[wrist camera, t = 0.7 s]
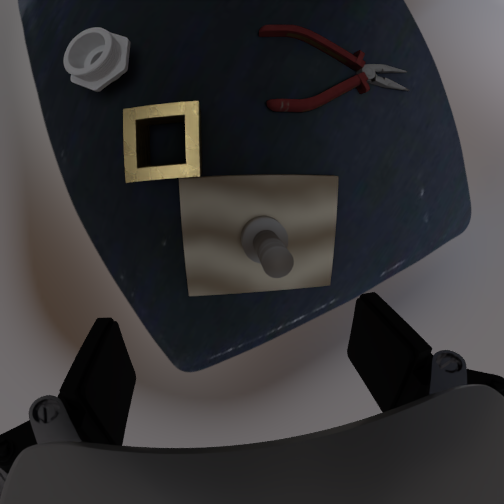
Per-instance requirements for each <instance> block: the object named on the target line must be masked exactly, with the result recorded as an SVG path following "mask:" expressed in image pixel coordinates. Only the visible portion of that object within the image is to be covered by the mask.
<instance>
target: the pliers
mask: <svg viewBox="0 0 504 504" xmlns="http://www.w3.org/2000/svg"><path fill="white" fill-rule="evenodd" d="M259 37H291V38H296V39H299V40H302V41H304V42H306V43H308V44H310V45H312V46H314V47H316V48H317V49H319V50H321V51H323V52H325V53H326V54H328V55H330V56H332V57H333V58H335V59H337V60H338V61H340V62H342V63H343V64H345V65H346V66H348V67H349V68H351V69H353V70H354V71H356V74H357V75H355V76H353V77H351V78H349V79H347V80H345V81H343V82H341V83H339V84H337V85H335V86H333V87H331V88H329V89H328V90H326V91H324V92H322V93H320V94H318V95H317V96H314V97H311V98H307V99H271V100H268V101H267V106H268V108H269V109H271V110H272V111H277V112H306V111H310V110H313V109H315V108H318V107H320V106H322V105H324V104H326V103H328V102H330V101H331V100H333V99H335V98H337V97H339V96H340V95H342V94H344V93H346V92H348V91H350V90H352V89H354V88H355V87H356V89H357V90H358V92H359V93H360V94H362V93H365V92H367V91H369V90H370V87H369V85H368V83H371V84H374V85H377V86H380V87H385V88H392V89H399V90H405V91H409V90H408V89H407V88H405V87H403V86H401V85H399V84H397V83H395V82H394V81H392V80H389V79H387V78H382V77H380V76H377V74H376V72H377V73H406V72H407V71H404V70H401V69H397V68H394V67H391V66H387V65H383V64H366V65H365V61H364V60H363V57H364V55H365V53H364V52H362V51H361V50H359V51H357V52H356V53H354V54H353V55H352V54H351V53H349V52H348V51H346V50H344V49H343V48H341V47H340V46H338V45H336V44H335V43H333V42H331V41H329V40H328V39H326V38H324V37H322V36H320V35H319V34H317V33H315V32H313V31H311V30H308V29H306V28H303V27H300V26H296V25H265V26H263V27H261V28H260V30H259ZM367 82H368V83H367Z"/></svg>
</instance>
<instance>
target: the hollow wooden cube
mask: <svg viewBox="0 0 504 504" xmlns="http://www.w3.org/2000/svg"><path fill="white" fill-rule="evenodd" d="M179 122H185V141H186V162H185V163H172V164H161V165H151V162H150V130H149V126H150V125H158V124H168V123H179ZM123 138H124V163H125V179H126V183H129V182H138V181H148V180H158V179H170V178H183V177H199V176H200V175H201V174H202V144H201V109H200V105H199V101H189V102H176V103H166V104H157V105H149V106H141V107H134V108H128V109H123Z"/></svg>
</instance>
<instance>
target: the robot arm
mask: <svg viewBox="0 0 504 504" xmlns="http://www.w3.org/2000/svg"><path fill="white" fill-rule="evenodd" d="M431 350H432V348H431V346H430V345H428V343H427V342H425V340H424V339H423V338H422V337H421V336H420V335H419V334H418V333H417V332H416V331H415V330H414V329H413V328H412V327H411V326H410V325H409V324H408V323H407V322H406V321H404V320H403V318H401V317H400V316H399V315H398V314H397V313H396V312H395V311H394V310H393V309H392V308H391V307H390V306H389V305H388V304H387V303H386V302H385V301H384V300H383V299H382V298H381V297H380V296H379V295H377V294H376V293H375V292H372V293H366V294H362V295H361V296H360V298H358V299H357V300H356V305H355V312H354V318H353V323H352V329H351V334H350V340H349V344H348V349H347V354H348V357H349V359H350V361H351V362H352V364H353V365H354V367H355V369H356V370H357V372H358V373H359V375H360V377H361V378H362V380H363V381H364V383H365V385H366V386H367V388H368V389H369V391H370V392H371V394H372V396H373V398H374V399H375V401H376V402H377V404H378V405H379V407H380V409H381V411H382V412H383V413H380V414H377V415H375V416H372V417H369V418H366V419H362V420H359V421H356V422H353V423H349V424H346V425H342V426H339V427H335V428H331V429H327V430H323V431H319V432H314V433H310V434H306V435H301V436H296V437H291V438H285V439H279V440H274V441H267V442H260V443H253V444H244V445H234V446H223V447H207V448H149V447H148V448H147V447H131V446H122V443H123V438H124V433H125V427H126V422H127V417H128V413H129V408H130V404H131V399H132V395H133V390H134V386H135V382H136V374H135V371H134V368H133V366H132V363H131V360H130V357H129V355H128V352H127V349H126V346H125V343H124V340H123V338H122V334H121V331H120V328H119V325H118V323H117V322H116V321H114V320H113V319H112V318H97V319H96V321H95V323H94V325H93V326H92V328H91V330H90V332H89V334H88V336H87V337H86V339H85V341H84V343H83V345H82V347H81V348H80V350H79V352H78V354H77V356H76V358H75V360H74V362H73V364H72V366H71V368H70V370H69V372H68V374H67V376H66V378H65V380H64V382H63V384H62V386H61V389H60V393H59V395H58V397H55V396H51V395H46V396H43V397H40V398H38V399H37V400H36V401H35V402H34V403H33V404H32V405H31V407H30V410H29V419H30V420H29V421H27V422H25V423H23V424H21V425H19V426H17V427H16V428H13V429H11V430H9V431H7V432H5V433H3V434H1V435H0V504H504V378H503V377H500V376H498V375H493V374H488V373H483V372H478V371H474V370H469V369H466V363H465V360H464V359H463V357H461V356H460V355H459V354H457V353H455V352H453V351H449V350H442V351H439V352H437V353H435V354H434V356H433V355H432V354H431Z"/></svg>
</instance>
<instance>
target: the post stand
mask: <svg viewBox="0 0 504 504" xmlns="http://www.w3.org/2000/svg"><path fill="white" fill-rule="evenodd" d="M179 191H180V207H181V221H182V233H183V244H184V255H185V265H186V274H187V283H188V291H189V296H202V295H219V294H234V293H248V292H262V291H274V290H286V289H297V288H307V287H318V286H327V285H330V281H331V272H332V262H333V252H334V241H335V228H336V214H337V197H338V176H334V175H298V174H262V175H224V176H203V177H187V178H179Z"/></svg>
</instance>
